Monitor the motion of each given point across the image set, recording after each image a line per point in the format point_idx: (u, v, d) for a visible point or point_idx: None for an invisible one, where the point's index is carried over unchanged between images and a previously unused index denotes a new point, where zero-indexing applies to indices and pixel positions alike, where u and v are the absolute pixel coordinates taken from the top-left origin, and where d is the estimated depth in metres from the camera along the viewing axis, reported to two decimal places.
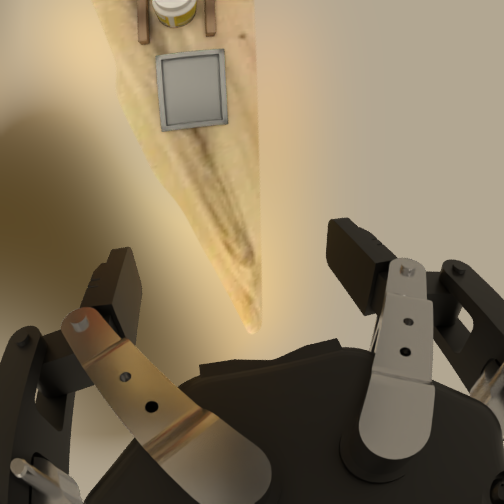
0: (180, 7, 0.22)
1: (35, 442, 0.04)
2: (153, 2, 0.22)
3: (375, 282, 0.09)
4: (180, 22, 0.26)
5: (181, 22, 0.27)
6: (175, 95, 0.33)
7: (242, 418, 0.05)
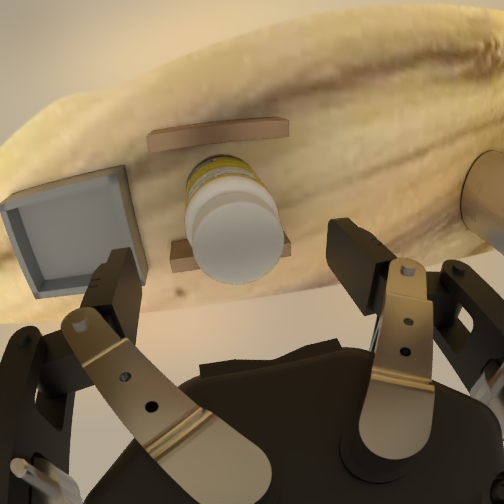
0: None
1: (35, 442, 0.04)
2: (223, 183, 0.14)
3: (375, 282, 0.09)
4: None
5: None
6: (59, 209, 0.18)
7: (242, 418, 0.05)
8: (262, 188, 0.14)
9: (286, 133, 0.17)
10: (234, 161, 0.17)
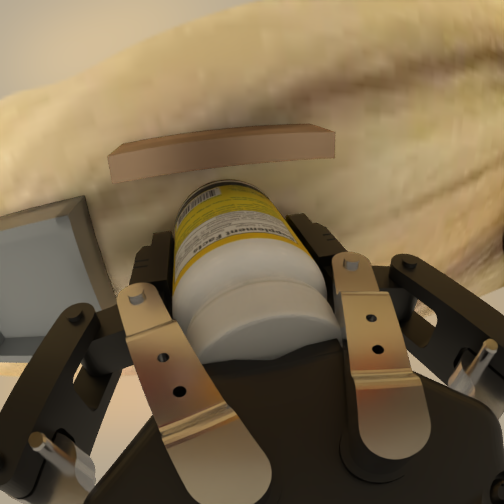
0: None
1: (63, 418, 0.05)
2: (240, 255, 0.08)
3: None
4: None
5: None
6: (5, 256, 0.12)
7: (242, 418, 0.05)
8: (306, 259, 0.08)
9: (330, 152, 0.11)
10: (249, 195, 0.11)
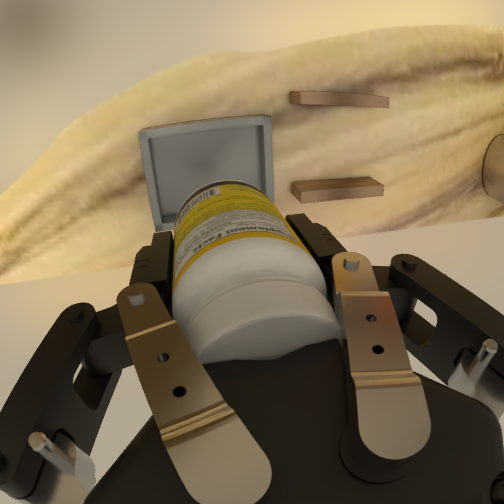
0: None
1: (63, 418, 0.05)
2: (240, 254, 0.07)
3: None
4: None
5: None
6: (199, 145, 0.22)
7: (242, 418, 0.05)
8: (307, 258, 0.08)
9: (387, 105, 0.21)
10: (249, 194, 0.11)
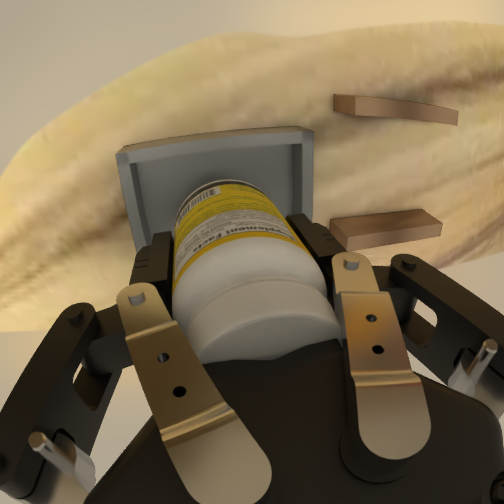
0: None
1: (63, 418, 0.05)
2: (240, 254, 0.07)
3: None
4: None
5: None
6: (206, 170, 0.16)
7: (242, 418, 0.05)
8: (307, 258, 0.08)
9: (456, 122, 0.15)
10: (249, 194, 0.11)
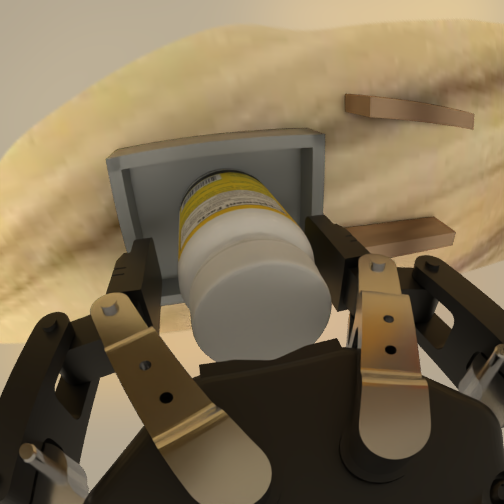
0: None
1: (49, 428, 0.05)
2: (237, 221, 0.09)
3: (346, 278, 0.10)
4: None
5: None
6: None
7: (242, 418, 0.05)
8: (295, 227, 0.10)
9: (472, 125, 0.13)
10: (246, 180, 0.12)
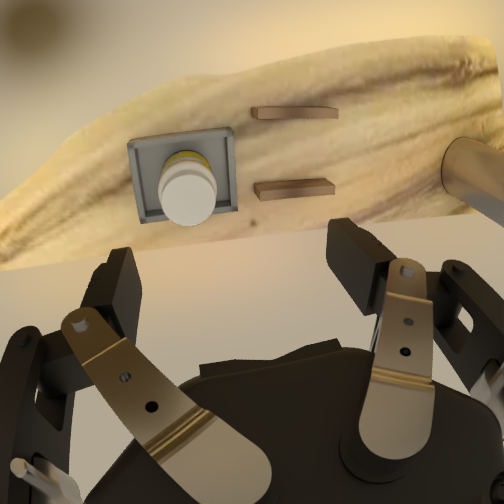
0: None
1: (35, 442, 0.04)
2: (181, 165, 0.22)
3: (375, 282, 0.09)
4: None
5: None
6: None
7: (242, 418, 0.05)
8: (205, 168, 0.23)
9: (337, 116, 0.27)
10: (192, 153, 0.25)
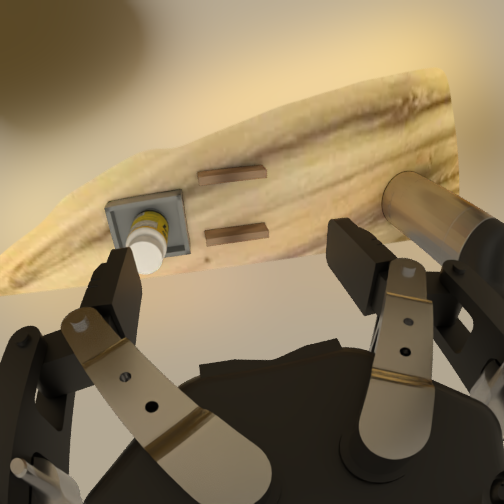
0: None
1: (35, 442, 0.04)
2: (139, 231, 0.31)
3: (375, 282, 0.09)
4: None
5: None
6: None
7: (242, 418, 0.05)
8: (156, 232, 0.31)
9: (265, 176, 0.35)
10: (152, 215, 0.34)
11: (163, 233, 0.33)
